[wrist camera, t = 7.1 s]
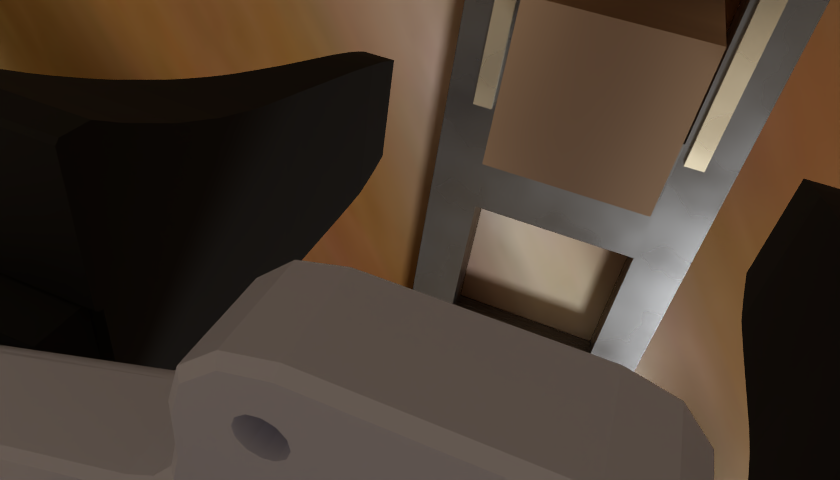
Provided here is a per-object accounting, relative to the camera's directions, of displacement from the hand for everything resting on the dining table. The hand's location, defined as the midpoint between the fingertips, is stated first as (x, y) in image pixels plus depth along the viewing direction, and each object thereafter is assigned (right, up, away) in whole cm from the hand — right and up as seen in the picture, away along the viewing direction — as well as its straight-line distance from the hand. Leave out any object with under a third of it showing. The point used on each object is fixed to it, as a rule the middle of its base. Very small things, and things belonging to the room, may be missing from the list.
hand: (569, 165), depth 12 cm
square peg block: (+3, +5, +8) cm, 10 cm away
